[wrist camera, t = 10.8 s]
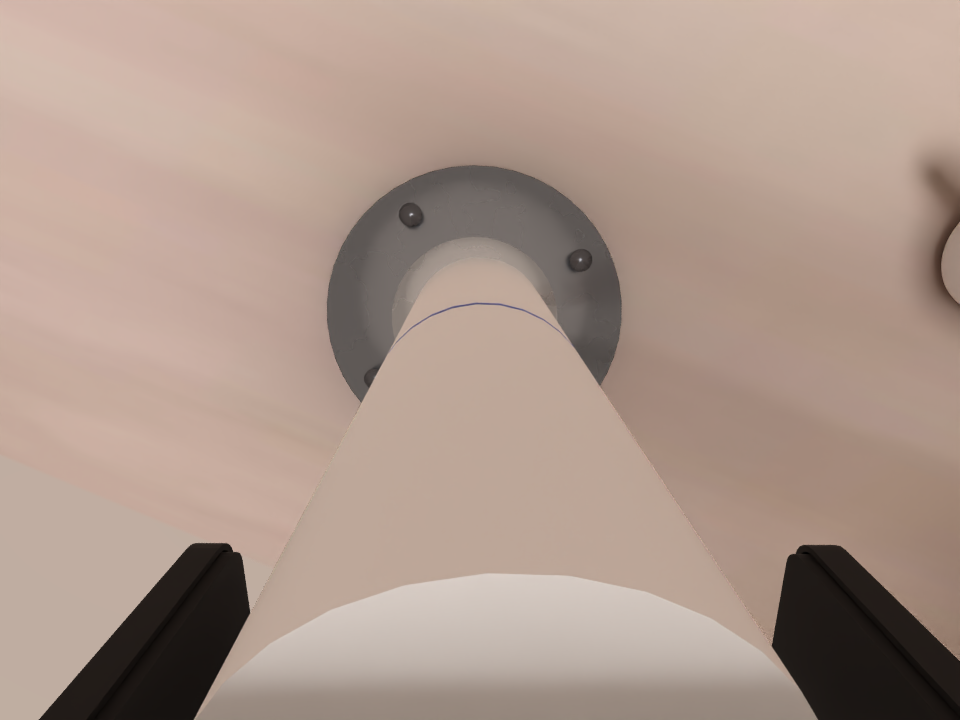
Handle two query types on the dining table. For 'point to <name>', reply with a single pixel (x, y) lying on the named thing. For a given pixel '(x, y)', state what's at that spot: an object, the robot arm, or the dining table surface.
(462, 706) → the cylindrical container
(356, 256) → the flange plate
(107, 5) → the dining table surface
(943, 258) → the cup
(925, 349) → the dining table surface
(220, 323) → the dining table surface
